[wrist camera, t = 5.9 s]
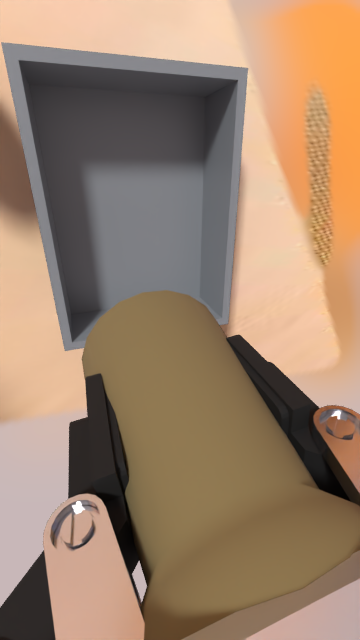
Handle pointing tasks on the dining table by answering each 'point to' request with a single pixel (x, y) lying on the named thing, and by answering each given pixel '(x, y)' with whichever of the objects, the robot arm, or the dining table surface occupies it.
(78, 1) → the dining table surface
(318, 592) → the robot arm
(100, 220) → the tote
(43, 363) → the dining table surface
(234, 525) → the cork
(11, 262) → the dining table surface
